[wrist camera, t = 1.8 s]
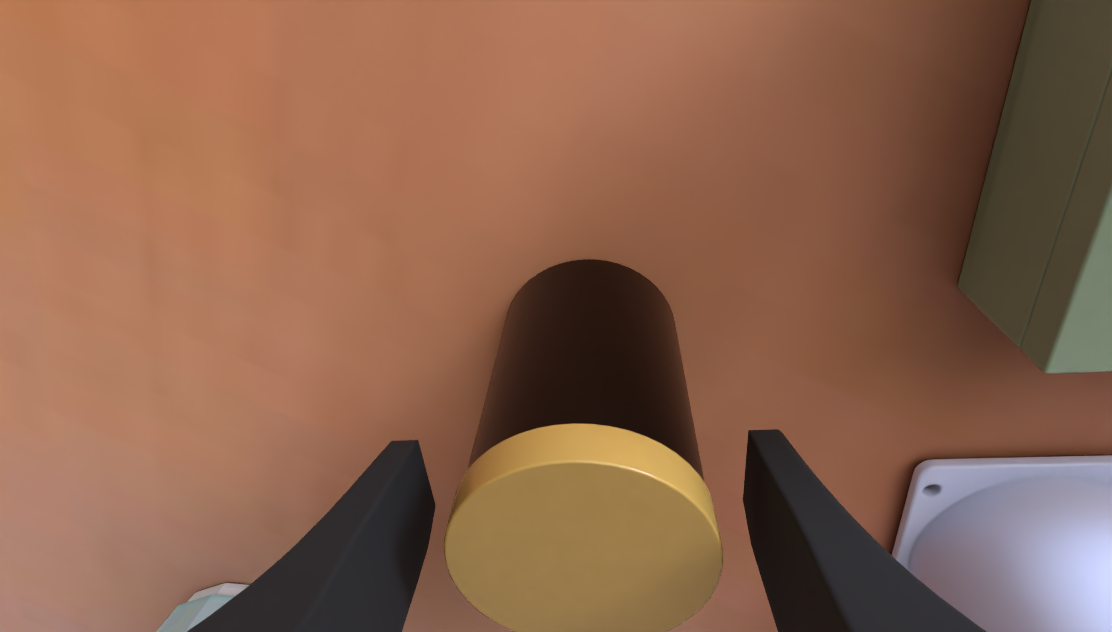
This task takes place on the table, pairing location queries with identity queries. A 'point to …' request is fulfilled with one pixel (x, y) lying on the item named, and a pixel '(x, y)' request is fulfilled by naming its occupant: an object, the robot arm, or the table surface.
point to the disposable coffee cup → (200, 607)
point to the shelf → (1051, 195)
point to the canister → (586, 466)
